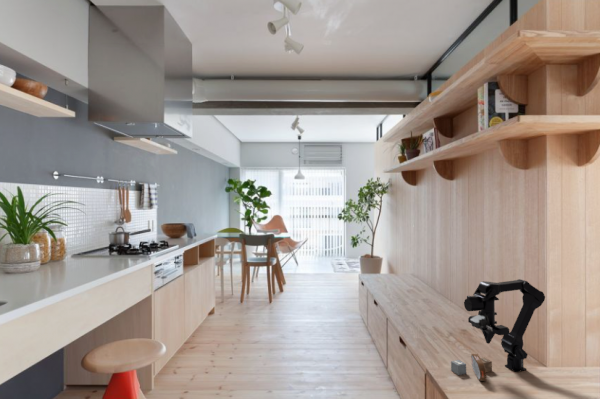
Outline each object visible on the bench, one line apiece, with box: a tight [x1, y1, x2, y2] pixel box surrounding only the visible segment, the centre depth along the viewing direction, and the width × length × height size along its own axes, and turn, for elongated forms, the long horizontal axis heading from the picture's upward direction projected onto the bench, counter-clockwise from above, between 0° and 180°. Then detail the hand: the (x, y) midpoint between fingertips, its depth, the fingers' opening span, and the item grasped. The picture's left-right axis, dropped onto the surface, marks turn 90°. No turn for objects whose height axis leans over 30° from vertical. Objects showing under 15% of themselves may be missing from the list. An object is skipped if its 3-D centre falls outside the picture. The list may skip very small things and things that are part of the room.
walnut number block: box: [480, 357, 493, 373], centre depth 169 cm, size 4×4×5 cm
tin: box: [471, 353, 487, 382], centre depth 163 cm, size 15×3×8 cm, turn 168°
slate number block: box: [450, 359, 467, 376], centre depth 167 cm, size 4×4×5 cm
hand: (488, 343), depth 168 cm, fingers closed
